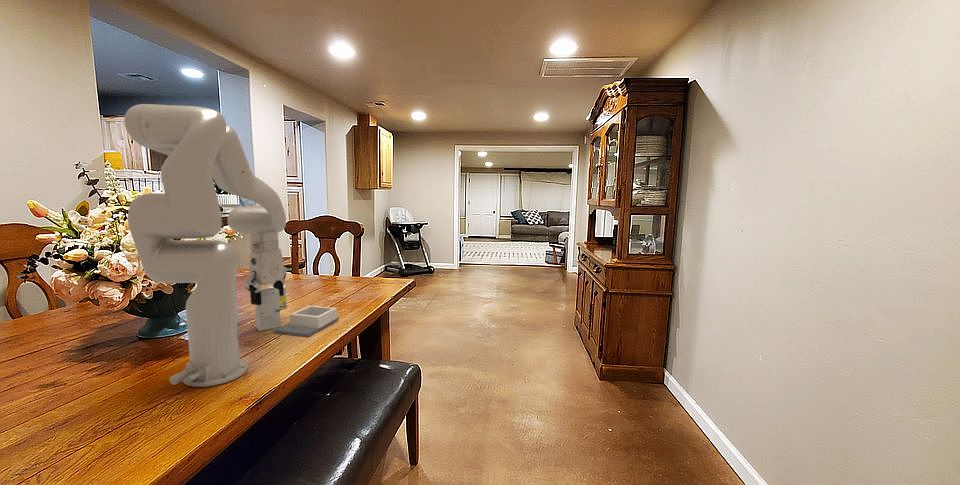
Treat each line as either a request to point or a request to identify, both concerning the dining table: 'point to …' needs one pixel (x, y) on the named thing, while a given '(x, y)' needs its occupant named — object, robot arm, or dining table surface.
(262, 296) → the skincare box
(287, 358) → the dining table surface
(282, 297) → the supplement bottle
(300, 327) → the socket holder
